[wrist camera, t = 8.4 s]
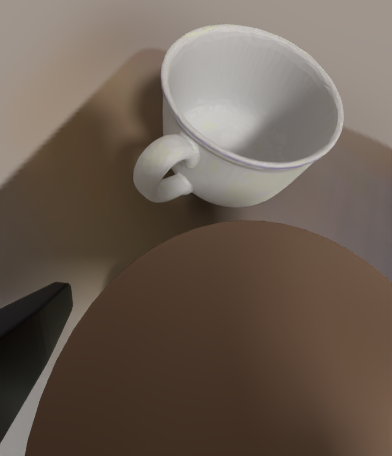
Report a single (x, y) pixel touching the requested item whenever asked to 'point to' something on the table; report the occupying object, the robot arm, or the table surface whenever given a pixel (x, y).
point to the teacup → (238, 117)
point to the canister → (228, 353)
